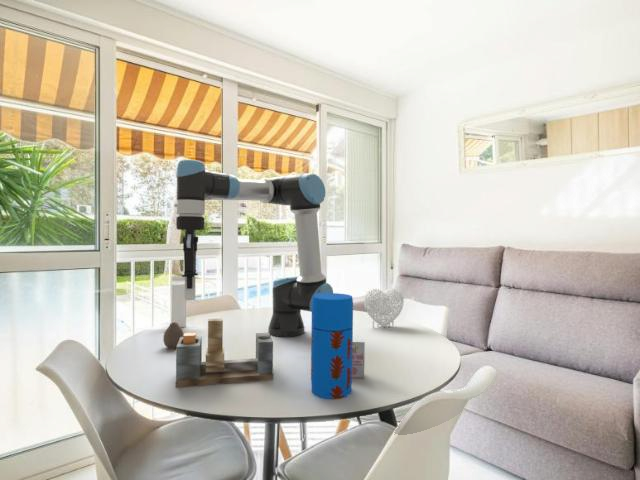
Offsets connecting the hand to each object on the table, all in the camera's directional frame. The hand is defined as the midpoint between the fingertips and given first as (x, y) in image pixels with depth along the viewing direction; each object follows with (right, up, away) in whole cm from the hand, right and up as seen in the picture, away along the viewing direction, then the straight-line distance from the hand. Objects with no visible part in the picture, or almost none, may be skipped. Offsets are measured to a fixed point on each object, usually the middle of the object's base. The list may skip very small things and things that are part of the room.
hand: (190, 299), depth 108 cm
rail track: (+9, -23, +3) cm, 25 cm away
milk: (-26, -22, +61) cm, 70 cm away
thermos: (+40, -23, -7) cm, 47 cm away
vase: (-16, -22, +29) cm, 40 cm away
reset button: (0, -12, 0) cm, 12 cm away
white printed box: (+46, -23, +4) cm, 52 cm away
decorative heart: (+65, -23, +64) cm, 94 cm away
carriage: (+7, -20, +2) cm, 21 cm away
